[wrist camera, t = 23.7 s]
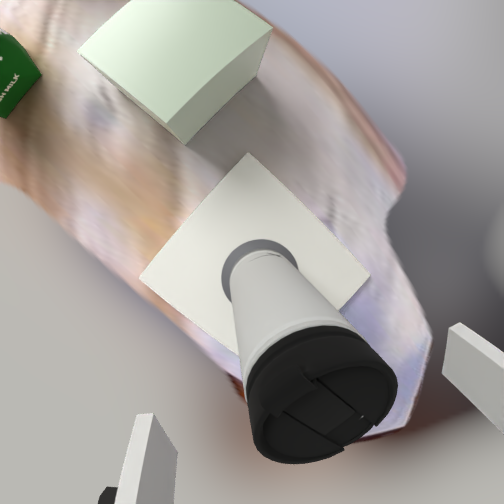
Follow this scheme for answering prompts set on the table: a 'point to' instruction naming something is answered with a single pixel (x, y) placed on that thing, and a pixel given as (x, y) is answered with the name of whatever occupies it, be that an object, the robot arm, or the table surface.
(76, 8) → the table surface
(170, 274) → the board
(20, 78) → the milk carton
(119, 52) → the mint green block
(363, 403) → the travel mug
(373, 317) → the table surface
